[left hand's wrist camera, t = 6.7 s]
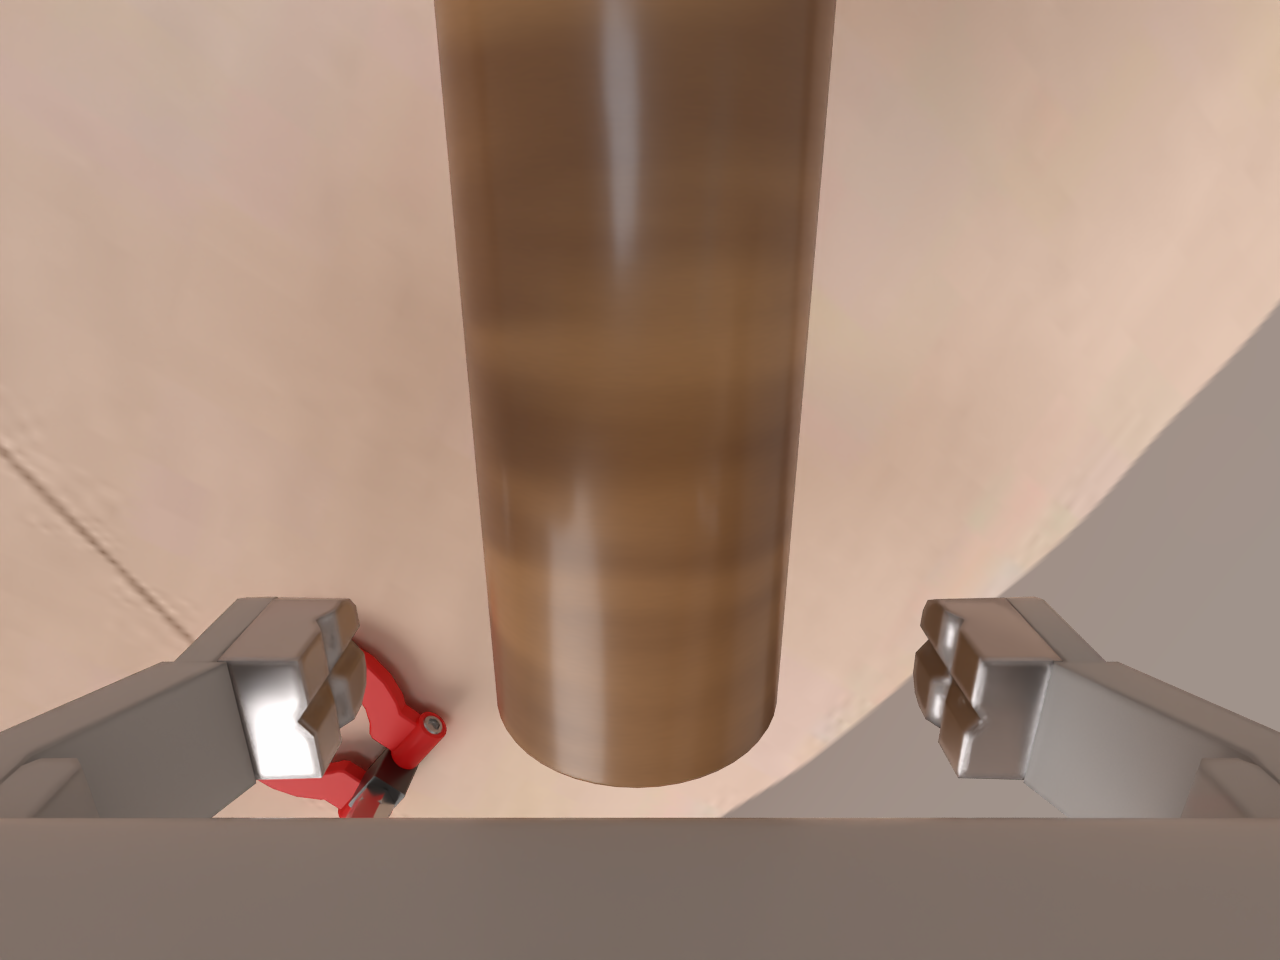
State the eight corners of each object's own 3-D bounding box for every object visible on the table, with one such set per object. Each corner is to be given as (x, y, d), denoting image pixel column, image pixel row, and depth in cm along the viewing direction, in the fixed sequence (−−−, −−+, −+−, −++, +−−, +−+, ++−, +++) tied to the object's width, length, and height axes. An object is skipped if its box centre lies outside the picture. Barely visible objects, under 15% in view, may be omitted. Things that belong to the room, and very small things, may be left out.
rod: (753, 609, 19) (804, 789, 13) (519, 611, 19) (470, 790, 13) (862, -1023, 10) (1188, -2764, 4) (401, -1028, 10) (65, -2793, 4)
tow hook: (189, 713, 33) (361, 820, 35) (-89, 1002, 21) (199, 1145, 22) (286, 587, 30) (464, 709, 32) (38, 828, 18) (347, 1003, 20)
